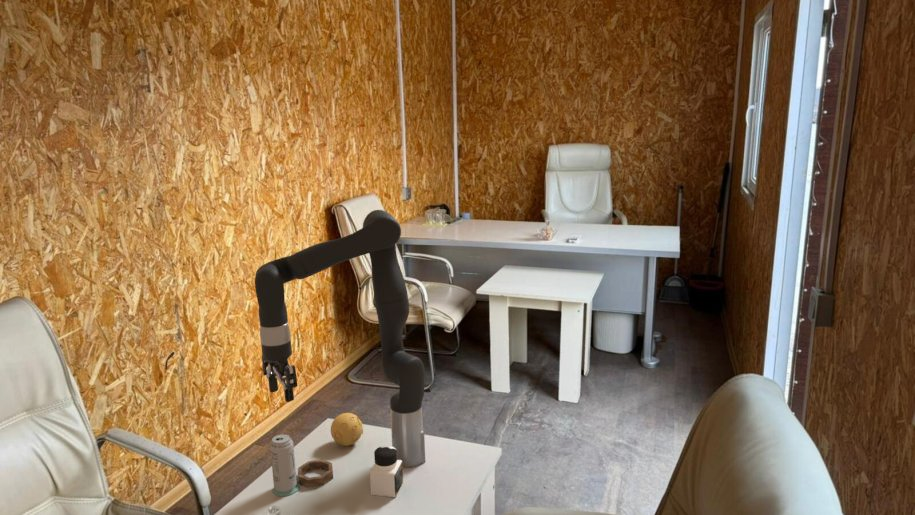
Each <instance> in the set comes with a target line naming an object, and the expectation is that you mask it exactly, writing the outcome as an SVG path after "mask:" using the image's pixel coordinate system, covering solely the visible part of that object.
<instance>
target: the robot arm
mask: <svg viewBox="0 0 915 515" xmlns="http://www.w3.org/2000/svg"><path fill="white" fill-rule="evenodd" d="M401 236H402V229H401V226H400V223H399V222H398V220H397V219H396V218H395V217H394V216H393V215H392V214H390V212H388V211H385V210H383V209H374V210H372V211H370V212H369V213H368V214H367V215H366V216H365V218H364V220H363V223H362V228H360V229H358V230H356V231H355V232H352V233H351V234H348V235H346V236H343V237H339V238H337V239H335V238H334V239H331V240H326V241H322V242H320V243H316V244H314V245H310V246H309V247H306V248H303V249H302V250H299V251H298V252H295V253H293V254H291V255H287V256H284V257H281V258H277V259H275V260H271V261H269V262H266V263H264V264H262V265H261V266H259V268H258V269H257V271H256V272H255V275H254V276H255V277H254V288H255V294H256V299H257V305H258V319H259V337H260V346H261V362H262V363H261V364H262V374H263V376H266V380H267V381H268V387H269V388H268V389H269V392H270V393H275V392H277V391H279V385H278V382H279V383H281V384H282V388H283V392H284V401H285V402H286V403H290V402H292V401H294V400H295V397H294V395H295V394H294V388H297V387H298V379H297V372H296V370H297V369H296V366H295V365H294V364H292V365H289V364H290V363H289V361H288V360H289V358H290V357H291V356H292V354H293V349H292V340H291V339H292V338H291V331H290V330H291V329H290V325H289V321H288V320H289V319H288V311H287V305H286V303H285V302H286V301H285V300H286V299H285V284H286V283H289V282H291V281H294V280H305V279H306V278H309V277H311V276H314V275H316V274H318V273H320V272H322V271H324V270H327V269H329V268H331V267H333V266H337V265H338V264H342V263H344V262H347V261H348V260H352V259H354V258H357V257H361V256H364V255H367V254H368V255H369V258H370V259H369V260H370V263H371V278H372V289H373V297H374V303H375V304H374V305H375V311H376V315H377V319H378V320H377V321H378V327H379V328H378V329H379V335H380V336H379V337H380V343H381V344H380V345H381V366H382V372H383V375H384V377H385V378H386V380H388V381H389V382H391V383H393V384H396V385H398V387H399V391H398V392H396V393H394V394H393V395H391V397H390V399H389V409H390V411H389V412H390V427H391V428H390V430H391V446H392V447H394V448H395V449H396V450H397V460H402V468H413V467H417V466H419V465H420V464H422V463H426V447H425V446H426V441H425V431H424V428H423V427H424V426H423V399H424V396H425V374H426V372H425V364H424V363H423V361H422V359H421V358H420V357H418V356H416V355H412V354H410V353H408V352H406V350H405V347H404V340H403V330H404V328H405V325H406V324H407V321H408V318H409V315H410V302H409V296H408V295H409V293H408V289H407V286H406V282H405V278H404V275H403V272H402V269H401V267H400V266H401V265H400V263H399V259H398V255H397V254H398V253H397V247H396V246H397V245H396V244H397V243H398V242H399V241H400V238H401Z"/></svg>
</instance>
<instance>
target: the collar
mask: <svg viewBox="0 0 915 515" xmlns="http://www.w3.org/2000/svg"><path fill="white" fill-rule="evenodd" d="M317 470H318V471H319V470H321V471H322V470H323V471H325V473H323V474H322V475H319V476H313V477H309V476H307V475H306V474H307V473H309V472H312V471H317ZM333 479H334V470H333V463H332V462H329V461H327V460H324V459H316V460H309V461H306V462H305V463H303V464H302V465H300V466H299V467H298V468H297V480H298V481H297V482H298V483H299V486H303V487H305V488H309V489H311V488H317V487H323V486H325V485H327V484H328V483H329V482H331V481H332V480H333Z"/></svg>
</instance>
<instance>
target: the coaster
mask: <svg viewBox="0 0 915 515" xmlns="http://www.w3.org/2000/svg"><path fill="white" fill-rule="evenodd" d="M296 482H297V484H296V486H295V488H294V489H293V490H292V491H290V492H288V493H279V492H277V491H276V490H275V489H274V487H273V489H272V492H273V494H274V495H275V496H277V497H288V496H292V495H294V494H296V493H297V492H298V491H299V490H300V484H299V483H298V481H297V480H296Z"/></svg>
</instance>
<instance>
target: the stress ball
mask: <svg viewBox="0 0 915 515" xmlns="http://www.w3.org/2000/svg"><path fill="white" fill-rule="evenodd" d="M363 433H364V427H363V421H362V419H361V418H360V417H359V416H358V415H356V414H354V413H351V412H343V413H340V414H339V415H337V416H336V417H335V418H333V421H332V423H331V425H330V435H331V438H332V439H333V440H334V442H336V444H339V446H340V445H341V446H345V447H350V446H352V445H354V444H355V443H357V442H358V441H359V439H361V436H362V435H363Z"/></svg>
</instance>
